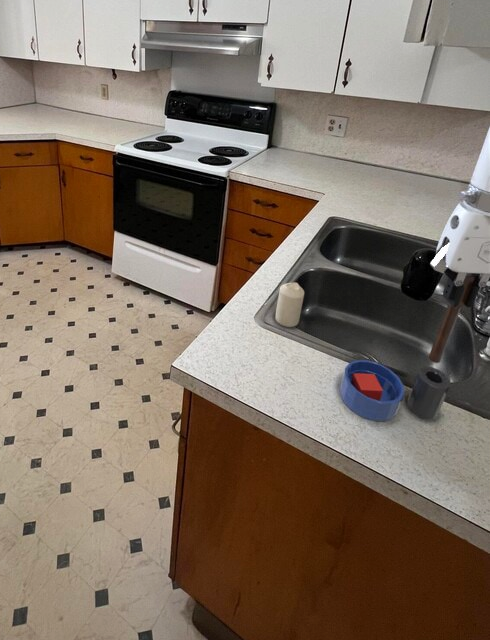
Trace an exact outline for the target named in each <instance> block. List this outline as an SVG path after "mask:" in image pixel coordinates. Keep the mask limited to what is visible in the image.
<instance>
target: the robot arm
mask: <svg viewBox="0 0 490 640" xmlns="http://www.w3.org/2000/svg"><path fill="white" fill-rule="evenodd" d="M458 199H459V200H460V201H459V202H458V203H457V205H456V207H455V208H454V210H453V211H452V213H451V215H450V217H449V218H448V220H447V222H446V224H445V226H444V229H443V231H442V233H441V235H440V237H439V241H438V242H437V247H436V250H435V257H434V258H433V259H432V260H431V261H430V263H429V266H430V267H431V268H432V269H433V270H434V271H436V272H438V273H441V274H444V275H445V276H446V277H447V280H446V282H445V283H446V284H445V286H444V287H443V291H442V297H443V298H444V300H446V301H447V302H448V304H450V305H451V306H452V307H457V306H458V304H459V302H460V299H461V297H462V294H463V292H464V289H465V287H464V286H463V285H462V284H463V282H464V279H465V276H466V273H471V274H473V275H474V276H475V278H474V281H473V283H472V285H471V288H470V290H469V293H468V296H467V298H466V301H465V303H464V307H467V308H472V307H473V305H474V303H475V301H476V299H477V296H478V294H479V291H480V289H481V288H485V287H486V286H487V285H488V282H489V281H490V126H489V127H488V130H487V133H486V136H485V139H484V142H483V144H482V148H481V150H480V154H479V156H478V159H477V162H476V165H475V167H474V169H473V173H472V176H471V178H470V181H469V183H468V186H467V189H466V190H461V191H459V192H458Z"/></svg>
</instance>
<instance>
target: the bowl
mask: <svg viewBox="0 0 490 640" xmlns="http://www.w3.org/2000/svg"><path fill="white" fill-rule="evenodd" d="M353 373H361V374H375V376H376V378H377V380H378V382H379V384H380V386H381V388H382V390H383V393H382V396H381V399H380V401H378V400H375V399H372V398H369V397H367V396H365V395H364V394H362V393H360V392H359V391H358V390H357V389H356V388H355V387H354V386H353V385H352V384H351V380H352V377H353ZM339 392H340V395H341V398H342V401H343V402H344V404H345V405H346V406H347V408H348V409H350V411H352V412H353V413H354V414H356V415H358V416H360V417H361V418H363V419H366V420H369V421H371V422H387V421H389V420H391V419H393V418H395V417H396V416H397V414H398V412H399V410H400V408H401V405H402V402H403V401H404V398H405V397H404V396H405V385H404V383H403V382H402V380H401V379H400V377H399V376H398V375H397V374H396V373H395V372H394V371H393V370H392V369H390V368H389V367H387V366H385V365H383V364H381V363H379V362H376V361H372V360H368V359H357V360H353V361H350V362H349V363H348V364H346V366H345V367H344V371H343V375H342V378H341V381H340V389H339Z"/></svg>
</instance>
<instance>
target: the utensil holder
mask: <svg viewBox="0 0 490 640" xmlns="http://www.w3.org/2000/svg"><path fill="white" fill-rule="evenodd" d="M450 387H451V379H450V378H449V377H448V376H447V374H446V373H444V372H443V371H441V370H440V369H438V368H435V367H433V366H421V367H420V368H418V370H417V373H416V376H415V379H414V381H413V384H412V387H411V389H410V391H409V395H408V398H407V402H406V404H407V407H408V409H409V410H410V411H411V412H412V414H414V415H415V416H417V417H419V418H422V419H424V420H435V419H436V418H437V416H438V415H439V412H440V411H441V409H442V406H443V404H444V402H445V399H446V397H447V395H448V392H449V390H450Z"/></svg>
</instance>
